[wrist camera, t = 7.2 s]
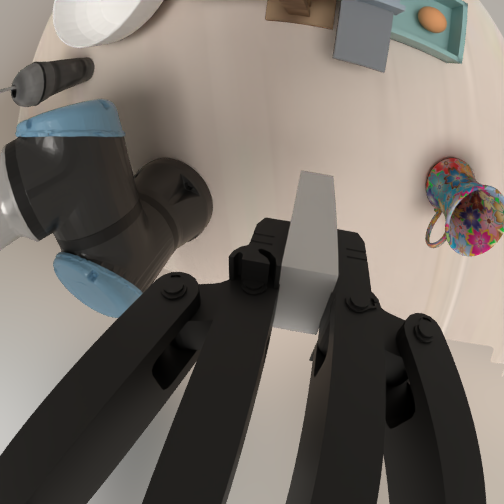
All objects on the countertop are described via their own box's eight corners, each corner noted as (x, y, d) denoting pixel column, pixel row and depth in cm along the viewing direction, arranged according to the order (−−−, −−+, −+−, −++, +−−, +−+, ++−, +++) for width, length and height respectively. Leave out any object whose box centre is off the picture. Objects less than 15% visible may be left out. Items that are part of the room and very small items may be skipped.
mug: (455, 140, 25) (492, 170, 18) (483, 189, 28) (515, 229, 20) (396, 190, 33) (413, 232, 25) (428, 232, 35) (446, 279, 27)
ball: (422, 23, 15) (450, 37, 15) (424, -1, 13) (452, 13, 12) (412, 26, 18) (438, 38, 17) (414, 4, 16) (440, 16, 15)
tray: (358, 28, 21) (362, 22, 18) (364, -27, 15) (368, -38, 12) (446, 62, 20) (461, 63, 16) (453, 8, 14) (467, 3, 10)
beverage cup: (70, 83, 33) (-19, 120, 18) (78, 48, 28) (-18, 75, 13) (94, 92, 34) (-3, 132, 19) (103, 54, 29) (-1, 81, 14)
